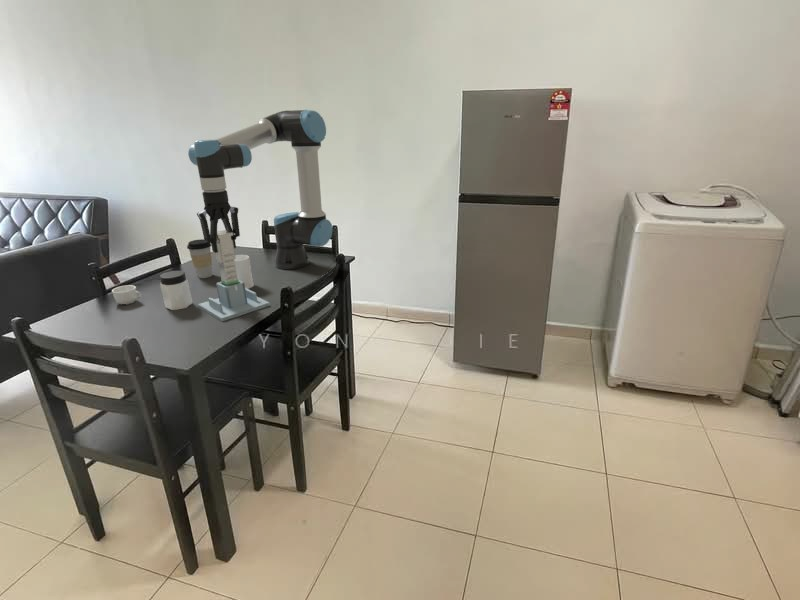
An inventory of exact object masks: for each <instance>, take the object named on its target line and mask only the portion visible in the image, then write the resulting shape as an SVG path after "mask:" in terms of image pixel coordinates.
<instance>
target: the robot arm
mask: <svg viewBox="0 0 800 600" xmlns="http://www.w3.org/2000/svg"><path fill="white" fill-rule="evenodd" d="M326 135H327V126H326V122H325V120H324V118H323V116H321V114H320V113H319V112H318V111H316V110H313V109H312V110H311V109H303V110H302V109H300V110H299V109H297V110H281V111H278V112H276V113H273V114H270V115H268V116H266V117H262V118H260V119H259V120H258V121H257V123H255V124H252V125H250V126H247V127H245V128H242V129H239V130H236V131H234V132H231V133H228V134H226V135H224V136H221V137H217V138H215V139H197V140H195V142H194V143H193V144H192V145H191V146H190V147H189V148H188V158H189V160H190V162H191V163H192V164H193V165H194V166H196V167H197V170H198V175H199V182H200V186H201V187H200V188H201V190H202V199H203V202H204V208H203V209H202V211H200V212H197V213H196V216H197V218H198V219H199V221H200V226H201V231H202V233H203V234H202V235H203V239H204V240H205V241H206V242H209V243H211V249H212V250H211V252H213V253H215V257H216V261H217V262H218V261H219V262H223V261H222V255H221V250H220V244H219V243H218V242H217V238H216V235H217V232H218V223H219V220H220V219H221V221H222V223H223V226H224V228H225V229H224V230H226V231H228V232H233V235H232V236H231V241H232V247H233V253H234V259H235V255H236V253H235V249H236V248H237V245H236V244H237V243H236V239H237V238H238V237H240V236H241V233H240V225H239V217H238V216H239V215H238V213H239V207H235V206H231V205H230V203H229V195H228V190H226V189H227V182H226V177H225V176H226V175H225V170H229V169H237V168H244V167H248V166H250V164H251V163H252V159H253V158H252V157H253V155H252V151H251V150H253V149H255V148H257V147H259V146H262V145H264V144H268V145H269V144H274V143H277V142H290V144H291V145H290V146H291V148H292V149H293V150H294V151H295V157H296V168H297V178H298V188H299V189H298V191H299V200H300V201H299V202H300V212H298V211H296V212H287V213H282V214H278V215H275V216H274V219H273V228H274V235H275V242H276V252H275V258H274V266H275V268H277V269H281V270H295V269H302V268H304V267H306V266H308V265H309V264H310V259H309V256H308V254H307V252H306V249H305V246H312V247H324V246H325V245H327V244H328V243H329V241H330V239H331V238H332V235H333V224H332V223H331V221H330V220H329V219H327V215H326V214H327V213H326V212H325V211H324V210H323V208H322V194H321V193H322V192H321V181H320V168H319V152H318V151H319V149H320V148H321V147H322V142H323V141H324V140H325V139H326ZM229 213H230V218H229V215H228V214H229ZM207 215H208V217H209V223H210V224H209V223H208V220H207ZM230 220H231V222H230ZM209 225H210V227H209ZM209 228H210V229H209ZM304 245H305V246H304Z"/></svg>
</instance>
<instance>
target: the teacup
mask: <svg viewBox="0 0 800 600" xmlns="http://www.w3.org/2000/svg"><path fill="white" fill-rule="evenodd" d="M111 293H112V296H113V298H114V301H115V302H116V303H117V304H120V305H122V304H126V305H130V303H131V304H133V303H134V302H136V300H138V299H140V298H141V297H142V294H141V292H140V291H138V290H137V287H136V286H135V285H132V284H128V285H127V284H126V285H121V286H116V287H115V288H113V289H112V290H111ZM138 295H139V296H138Z"/></svg>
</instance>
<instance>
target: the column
mask: <svg viewBox="0 0 800 600" xmlns="http://www.w3.org/2000/svg"><path fill="white" fill-rule="evenodd" d="M232 235H233V232H228V231H226V229H224V230H220V231H219V230H217V235H216V238H217V242H218V243H219V244H220V250H221V255H222V261H223V262H219V261H217V262H218V267H219V273H220V274H219V275H220V279H221V280H220V282H221V283H222V285H224V286H226V287H227V286H231V285H235V284H238V283H239V280H238V278H237V271H236V265H235V259H234V253H233V247H232V241H231V236H232Z"/></svg>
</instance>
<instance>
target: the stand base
mask: <svg viewBox="0 0 800 600" xmlns="http://www.w3.org/2000/svg"><path fill="white" fill-rule="evenodd" d="M215 285H216V290H217V297H218V298H217V297H216V298H212V297H208V300H207V301H205V302H201V303H198V304H197V307H198V308H199V309H201V310H202V311H204V312H205V313H208V314H209V315H211V316H212V317H214V318H215V319H217V320H218V321H221V322H225V321H229V320H231V319H234V318H237V317H240V316H242V315H246V314H249V313H252V312H255V311H259V310H261V309H264V308H267V307H269V306H271V304H270V302H269V301H267V300H265V299H263V298H261V297H258V296H257V292H255V291H253V290H250V288H249V289H247V288H245V283H244V282H242V281H240V280H239V283H238V284H235V285H231V286H227V287H226V286H224V285H222V283H221V281H219V282H216V283H215Z"/></svg>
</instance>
